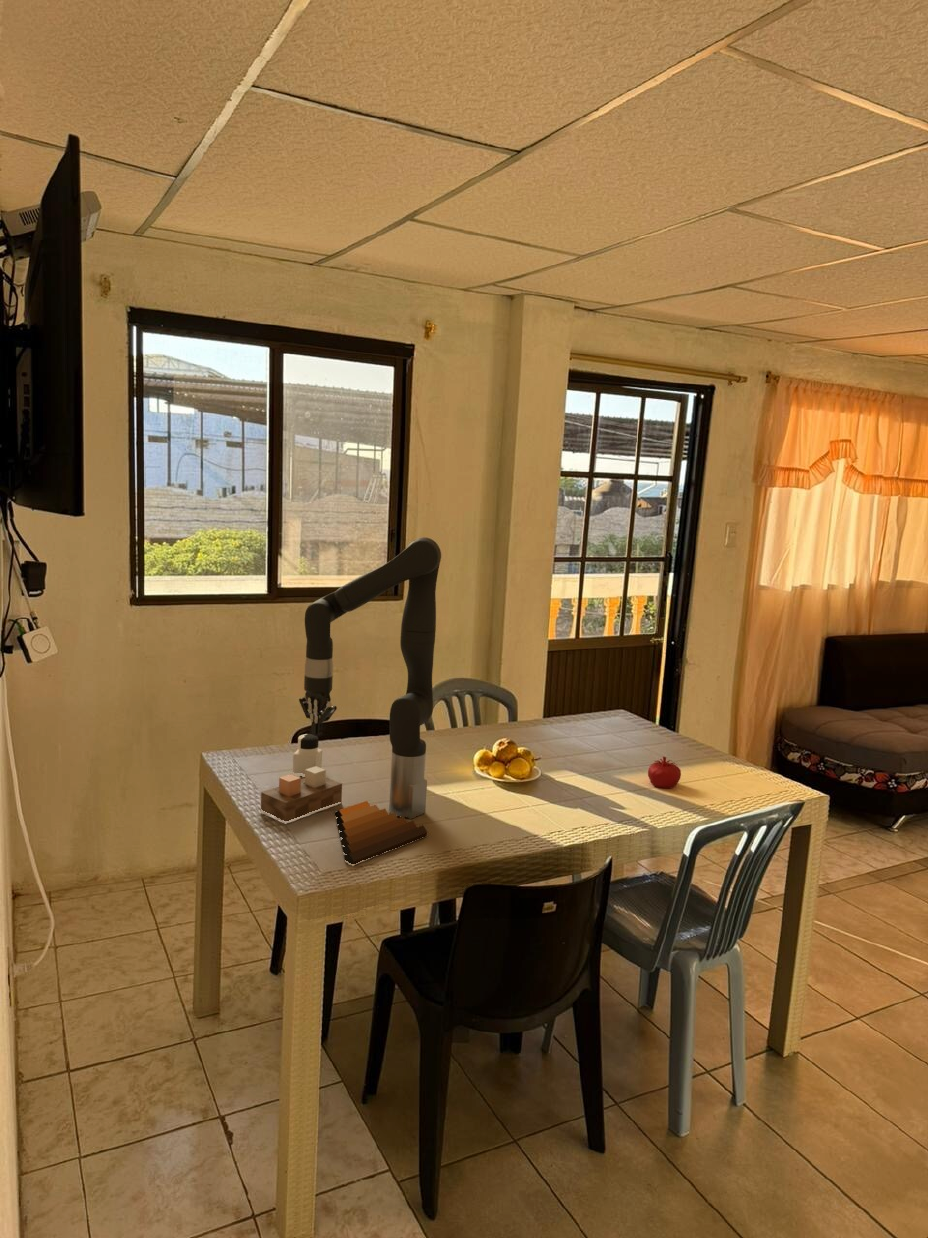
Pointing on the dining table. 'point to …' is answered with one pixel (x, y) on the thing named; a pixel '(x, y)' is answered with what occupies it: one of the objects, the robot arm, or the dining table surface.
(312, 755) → the medicine bottle
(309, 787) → the board
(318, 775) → the beige rectangular block
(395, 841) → the pan flute
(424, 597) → the robot arm
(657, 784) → the pomegranate
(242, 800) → the dining table surface
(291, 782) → the orange-brown rectangular block
